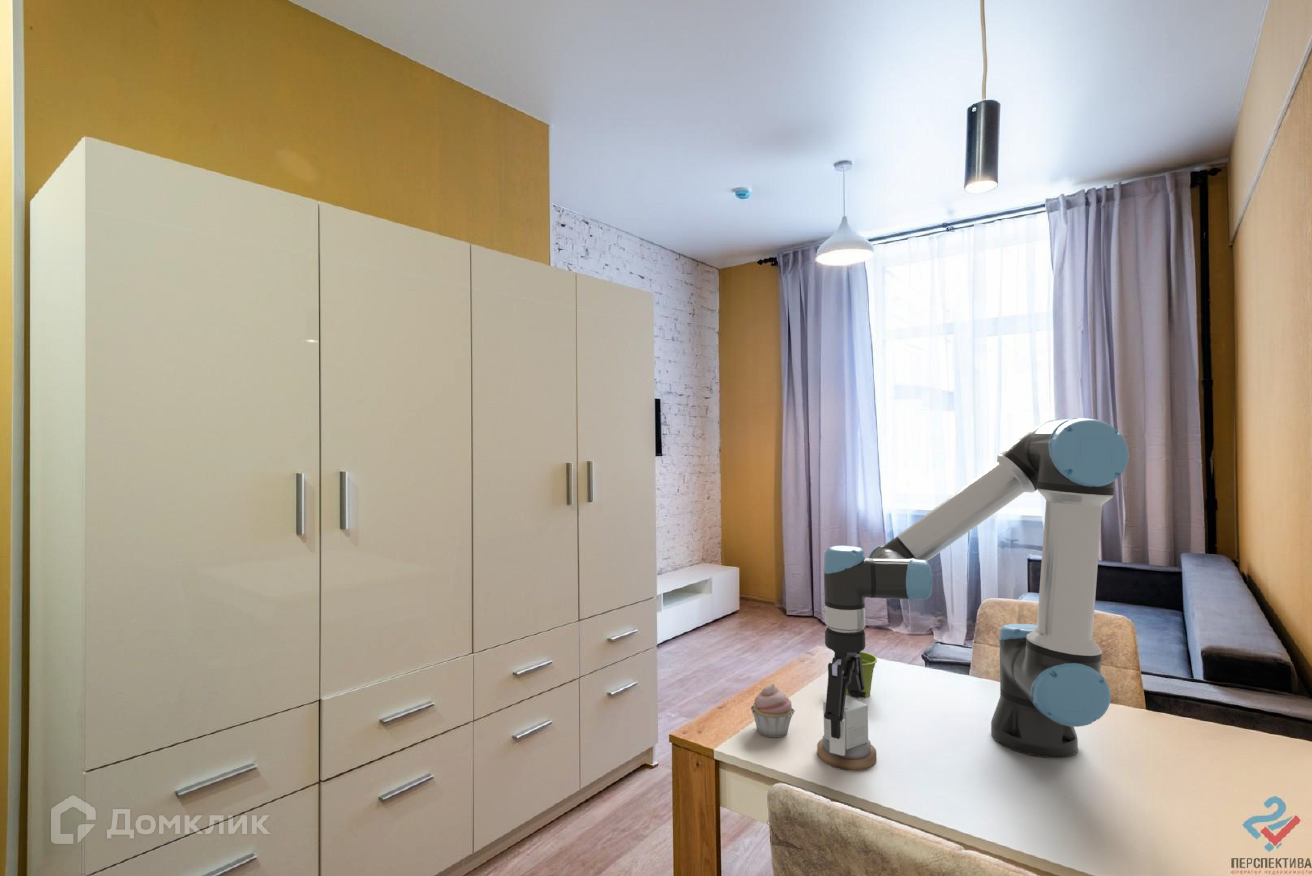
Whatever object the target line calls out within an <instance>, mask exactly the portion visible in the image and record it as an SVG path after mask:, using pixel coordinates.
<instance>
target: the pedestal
mask: <svg viewBox="0 0 1312 876" xmlns="http://www.w3.org/2000/svg"><path fill="white" fill-rule="evenodd" d="M816 750H817V751H816V753H817V758H818V759H819V760H820V761H821V762H822V763H824V764H825V765H827V766H829V767H832V768H835V769H837V770H838V769H839V770H844V771H853V772H857V771H858V772H859V771H865V770H869V769H871V768H873V767H874V766H876V763H877V749H876V748H875V746H873V744H872V743H871V740H870V739H869V738H868V743H865V744H862V745H859V746H856V747H854V748H851V749H847V750H846V749H845V756H842V755H838V754H834V753H830V741H829V740H827V739H825V738H824V734H823V736H822V737H821V739H820V740H819V741H818V742H817V744H816Z"/></svg>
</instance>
